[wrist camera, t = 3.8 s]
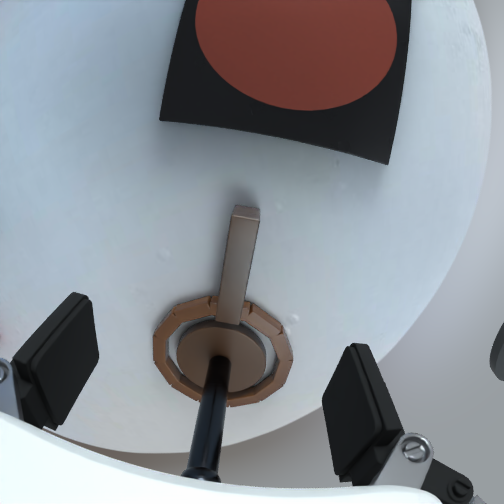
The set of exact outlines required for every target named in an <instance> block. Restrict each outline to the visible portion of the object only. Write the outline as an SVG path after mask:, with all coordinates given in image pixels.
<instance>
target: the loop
mask: <svg viewBox="0 0 504 504" xmlns="http://www.w3.org/2000/svg"><path fill="white" fill-rule="evenodd" d="M259 223H260V209H258V208H252V207H247V206H241V205H235V207H234V210H233V213H232V215H231V220H230V226H229V232H228V238H227V245H226V251H225V257H224V264H223V270H222V276H221V283H220V290H219V296H212V299H211V297H210V296H206V297H203V298H199V299H196V300H192V301H189V302H185V303H182V304H178V305H177V306H174V307H173V309H172V310H171V311H170V312H169V313H168V314H167V316H166V317H165V318H164V319H163V320H162V322H161V323H160V324H159V325H158V326H157V328H156V330H155V332H154V335H153V361H155V362H154V363H155V365H156V366H157V368H158V369H159V371H160V372H161V374H162V375H163V376H164V378H165V379H166V381H167V382H168V383H169V385H171V384H172V385H171V387H173V388H175V389H176V390H178V391H180V392H181V393H183V394H185V395H187V396H188V397H190V398H192V399H193V400H195V401H197V400H199V402H201V397H202V392H203V387H200V386H198V385H197V384H195V383H193V382H192V381H191V380H189V379H188V378H187V377H185V376H183V375H182V374H181V373H180V372H179V370H178V369H177V367H176V366H175V364H174V363H173V361H172V360H171V358H170V357H169V355H168V346H169V337H170V336H171V334H172V333H173V332H174V331H175V330H176V329H177V328H178V327H179V326H180V324H181V323H183V322H187V321H191V320H195V319H198V318H202V317H206V316H210V315H213V316H216V317H215V321H218V322H224V323H229V324H235V325H239V324H240V320H241V321H245V322H247V323H248V324H250V325H251V326H252V327H254V328H255V329H257V330H258V331H260V332H261V333H263V334H264V335H266V336H267V337H268V338H270V340H271V342H272V345H273V347H274V349H275V352H276V354H277V357H278V358H277V361H276V364H275V367H274V370H273V373H272V374H271V375H270V376H268V377H267V378H266V379H264V380H263V381H262V382H260V383H259V384H258V385H256V386H255V387H252V388H247V389H244V390H241V391H236V392H228V397H227V405H226V407H229V405H230V407H236V406H241V405H247V404H252V403H257V402H260V401H263V400H264V399H266V398H267V397H268V396H270V395H271V394H273V393H274V392H276V391H277V390H278V389H280V388H281V387H283V384H285V382H286V379H287V377H288V374H289V371H290V368H291V366H292V363H293V353H292V349H291V346H290V344H289V341H288V338H287V336H286V333H285V330H284V328H283V325H281V323H279V322H278V321H277V320H275V319H274V318H273V317H271V316H270V315H268V314H267V313H266V312H264V311H263V310H262V309H260V308H259V307H257V306H256V305H255V304H252V305H251V306H250V302H247V301H244V299H245V294H246V289H247V284H248V279H249V274H250V269H251V264H252V258H253V253H254V248H255V243H256V238H257V233H258V228H259Z"/></svg>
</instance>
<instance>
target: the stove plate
mask: <svg viewBox="0 0 504 504" xmlns="http://www.w3.org/2000/svg"><path fill="white" fill-rule="evenodd" d="M411 3H412V0H186V1H185V4H184V8H183V12H182V15H181V19H180V23H179V26H178V30H177V34H176V38H175V42H174V47H173V51H172V55H171V60H170V64H169V69H168V74H167V79H166V84H165V89H164V94H163V100H162V105H161V111H160V117H159V120H160V121H169V122H179V123H188V124H197V125H205V126H213V127H220V128H227V129H233V130H240V131H246V132H252V133H257V134H263V135H268V136H273V137H278V138H283V139H288V140H293V141H298V142H302V143H306V144H311V145H315V146H319V147H323V148H328V149H332V150H335V151H339V152H343V153H347V154H351V155H354V156H358V157H361V158H365V159H368V160H372V161H375V162H378V163H382V164H385V165H388V163H389V159H390V155H391V150H392V145H393V141H394V136H395V131H396V126H397V120H398V115H399V109H400V103H401V97H402V91H403V84H404V77H405V70H406V62H407V53H408V44H409V33H410V20H411Z"/></svg>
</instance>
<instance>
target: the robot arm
mask: <svg viewBox="0 0 504 504" xmlns="http://www.w3.org/2000/svg"><path fill="white" fill-rule="evenodd" d="M12 358H13V360H12V361H11V362H10V363H9V362H8V361H7V360H5V359H3V358H0V504H486V503H485V502H484V501H483V500H482V499H481V498H480V497H479V496H478V495H477V496H476V497H473V486H472V483H471V481H470V480H469V479H468V478H467V477H465V476H464V475H462V474H460V473H458V472H457V471H455V470H453V469H451V468H449V467H447V466H446V465H444V464H442V463H440V462H439V461H437V460H435V459H433V454H434V451H433V447H432V445H431V443H430V441H429V440H428V439H427V438H425V437H424V436H422V435H420V434H417V433H407V434H405V433H404V430H403V427H402V425H401V422H400V419H399V417H398V414H397V412H396V409H395V406H394V404H393V402H392V399H391V397H390V394H389V392H388V389H387V387H386V384H385V382H384V381H383V378H382V376H381V373H380V371H379V368H378V366H377V364H376V361H375V359H374V357H373V355H372V352H371V350H370V348H369V346H368V345H367V344H360V343H352V344H351V345H350V347H349V346H347V347H346V348H345V350H344V352H343V354H342V357H341V359H340V361H339V363H338V365H337V367H336V370H335V372H334V374H333V376H332V378H331V380H330V382H329V384H328V386H327V388H326V390H325V392H324V394H323V397H322V405H323V410H324V416H325V421H326V427H327V432H328V438H329V444H330V449H331V455H332V460H333V467H334V472H335V474H336V475H339V480H340V482H351V481H352V485H353V487H340V488H298V489H297V488H266V487H252V486H241V485H232V484H223V483H216V482H210V481H203V480H197V479H192V478H186V477H181V476H177V475H172V474H167V473H163V472H159V471H154V470H150V469H147V468H143V467H140V466H136V465H133V464H129V463H126V462H123V461H119V460H116V459H113V458H110V457H107V456H104V455H101V454H99V453H96V452H93V451H90V450H88V449H85V448H82V447H80V446H78V445H75V444H72V443H70V442H68V441H66V440H63V439H61V438H59V437H56V436H54V435H52V434H49V433H47V432H45V431H43V430H42V428H43V426H46V427H48V428H50V429H52V430H54V431H56V429H57V427H58V425H62V424H63V423H64V421H65V420H66V418H67V416H68V414H69V412H70V410H71V408H72V407H73V405H74V403H75V401H76V399H77V398H78V396H79V394H80V392H81V391H82V389H83V387H84V385H85V384H86V382H87V380H88V378H89V377H90V375H91V373H92V372H93V370H94V368H95V366H96V365H97V363H98V360H99V351H98V344H97V338H96V331H95V324H94V316H93V307H92V302H91V301H90V300H89V298H88V296H86V295H83V294H80V293H76V292H73V293H71V294H70V295H69V296H68V297H67V298H66V299H65V300H64V301H63V302H62V303H61V304H60V305H59V306H58V307H57V309H56V310H55V311H54V312H53V313H52V314H51V315H50V316H49V317H48V318H47V319H46V320H45V321H44V322H43V323H42V325H41V326H40V327H39V328H38V329H37V330H36V331H35V332H34V333H33V334H32V336H31V337H30V338H29V339H28V340H27V341H26V342H25V343H24V345H23V346H22V347H21V348H20V349H19V350H18V352H17V353H16V354H15V355H14V356H13V357H12Z"/></svg>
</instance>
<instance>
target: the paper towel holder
mask: <svg viewBox="0 0 504 504" xmlns="http://www.w3.org/2000/svg"><path fill="white" fill-rule="evenodd" d="M176 356H177V362H178V365H179V367H180V369H181V371H182V372H183V374H184V375H185V376H186V377H187V378H188V379H189V380H191V381H192V382H193V383H195V384H197V385H198V386H200V387H203V392H202V397H201V402H200V406H199V411H198V416H197V420H196V425H195V430H194V435H193V440H192V445H191V449H190V454H189V459H188V464H187V469H186V470H184V471H183V473H182V474H181V477H186V478H192V479H197V480H203V481H210V482H216V483H221V480H220V478H219V476H218V468H219V460H220V452H221V444H222V436H223V428H224V420H225V412H226V405H227V397H228V392H236V391H241V390H244V389H247V388H249V387H251V386H252V385H254V384H255V383H256V382H258V381H259V379H260V378H261V377H262V375H263V374H264V371H265V367H266V352H265V348H264V345H263V343H262V342H261V340H260V339H259V337H258V336H257V335H256V334H255V333H254V332H252V331H251V330H250V329H248V328H246V327H245V326H243V325H240V324H239V325H235V324H229V323H224V322H218V321H215V320H208V321H203V322H200V323H198V324H196V325H194V326H192V327H191V328H189V329H188V330H187V331H186V332H185V333H184V334H183V336H182V338H181V340H180V343H179V345H178V348H177V353H176Z"/></svg>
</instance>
